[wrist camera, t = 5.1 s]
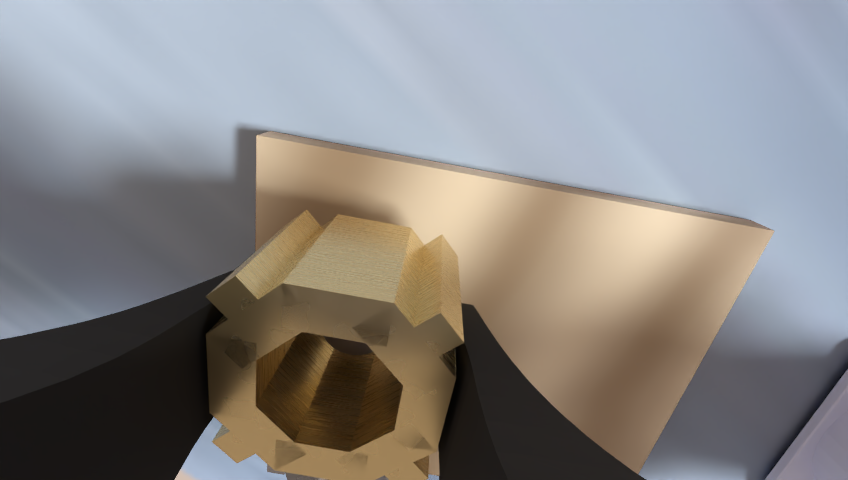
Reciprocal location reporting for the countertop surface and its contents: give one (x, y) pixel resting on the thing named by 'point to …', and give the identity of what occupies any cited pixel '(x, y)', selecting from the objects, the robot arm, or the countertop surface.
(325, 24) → the countertop surface
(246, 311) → the brass gear
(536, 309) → the gear board
